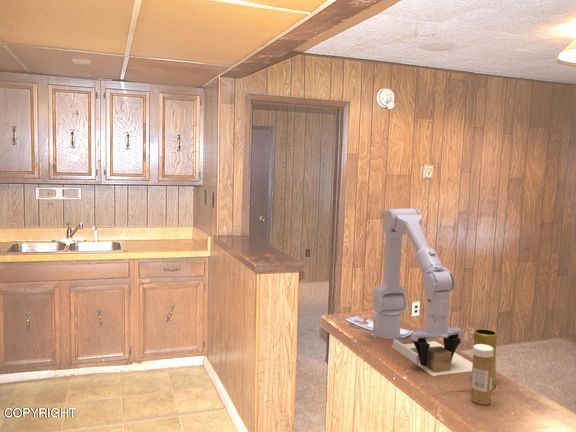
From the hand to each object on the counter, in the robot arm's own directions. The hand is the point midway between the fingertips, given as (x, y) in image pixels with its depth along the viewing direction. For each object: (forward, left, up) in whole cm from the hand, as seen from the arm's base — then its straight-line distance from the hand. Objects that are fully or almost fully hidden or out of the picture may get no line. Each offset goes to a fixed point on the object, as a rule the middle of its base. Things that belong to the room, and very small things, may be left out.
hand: (435, 363), depth 138 cm
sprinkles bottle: (+18, +1, -3) cm, 18 cm away
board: (-6, +4, -2) cm, 8 cm away
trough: (-10, 0, -1) cm, 10 cm away
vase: (+11, +7, -3) cm, 13 cm away
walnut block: (+1, 0, -1) cm, 1 cm away
